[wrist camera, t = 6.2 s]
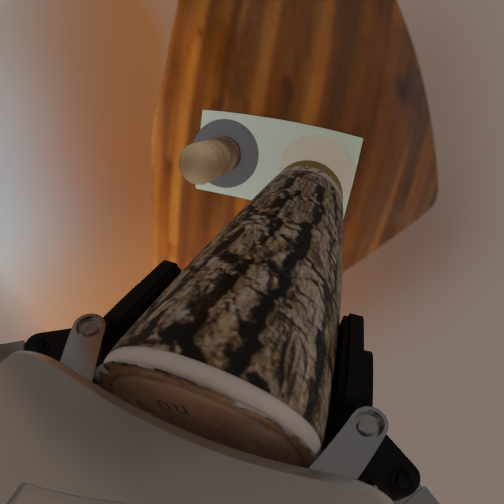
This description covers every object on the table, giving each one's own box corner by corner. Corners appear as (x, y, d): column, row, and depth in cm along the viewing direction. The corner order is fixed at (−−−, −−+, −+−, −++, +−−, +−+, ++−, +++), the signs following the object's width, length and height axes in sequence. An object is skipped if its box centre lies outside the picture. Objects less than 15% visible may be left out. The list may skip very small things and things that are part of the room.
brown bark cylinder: (354, 206, 27) (354, 482, 6) (297, 234, 30) (195, 475, 9) (319, 146, 25) (200, 333, 4) (262, 180, 29) (67, 370, 7)
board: (199, 109, 37) (195, 109, 36) (362, 137, 33) (363, 138, 32) (192, 185, 43) (189, 187, 42) (342, 220, 39) (342, 223, 38)
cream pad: (285, 128, 34) (285, 128, 34) (361, 145, 33) (361, 145, 32) (273, 198, 39) (273, 198, 39) (344, 216, 38) (344, 216, 37)
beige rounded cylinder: (208, 134, 37) (180, 140, 31) (243, 138, 37) (220, 145, 30) (205, 168, 40) (177, 181, 33) (238, 174, 39) (215, 188, 32)
